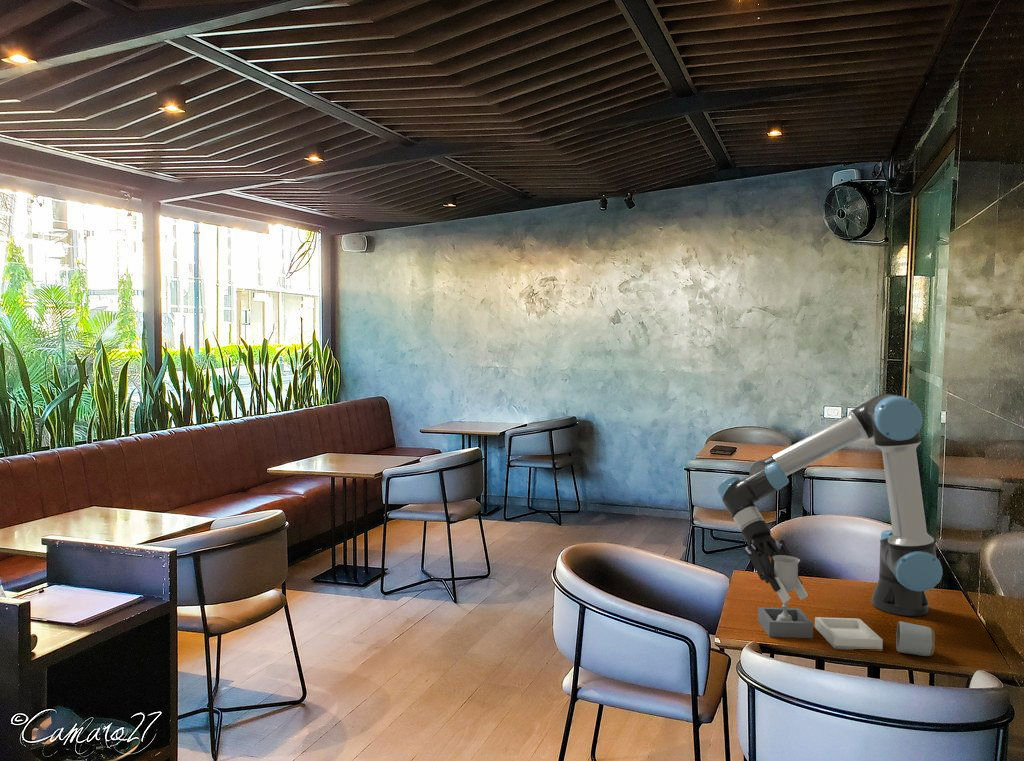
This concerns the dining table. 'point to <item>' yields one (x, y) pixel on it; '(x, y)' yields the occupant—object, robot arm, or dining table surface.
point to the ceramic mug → (915, 639)
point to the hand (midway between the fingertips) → (795, 599)
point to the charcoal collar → (785, 623)
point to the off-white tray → (848, 633)
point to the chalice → (786, 578)
